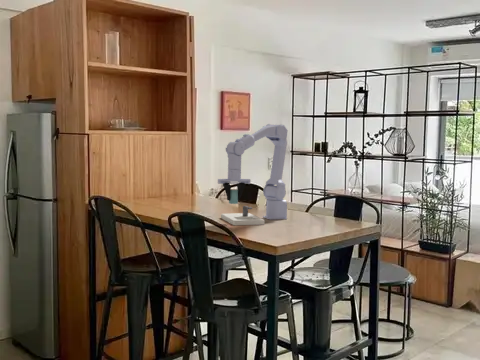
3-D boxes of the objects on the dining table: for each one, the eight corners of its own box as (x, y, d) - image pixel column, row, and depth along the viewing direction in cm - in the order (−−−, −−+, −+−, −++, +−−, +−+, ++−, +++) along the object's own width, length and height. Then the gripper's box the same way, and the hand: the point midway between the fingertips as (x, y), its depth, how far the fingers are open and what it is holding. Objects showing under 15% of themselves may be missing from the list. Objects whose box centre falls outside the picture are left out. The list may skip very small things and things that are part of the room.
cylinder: (236, 202, 242) (236, 189, 242) (239, 203, 238) (239, 190, 238) (227, 202, 241) (228, 189, 241) (230, 203, 237) (230, 190, 237)
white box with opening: (249, 217, 256) (249, 203, 255) (264, 224, 237) (264, 209, 236) (220, 217, 252) (221, 204, 251) (233, 225, 233) (234, 210, 232)
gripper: (247, 168, 244) (246, 198, 246) (216, 168, 240) (215, 199, 241) (252, 169, 238) (251, 200, 239) (220, 169, 233) (219, 201, 234)
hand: (233, 200), depth 239 cm, fingers closed on cylinder, 4 cm apart
